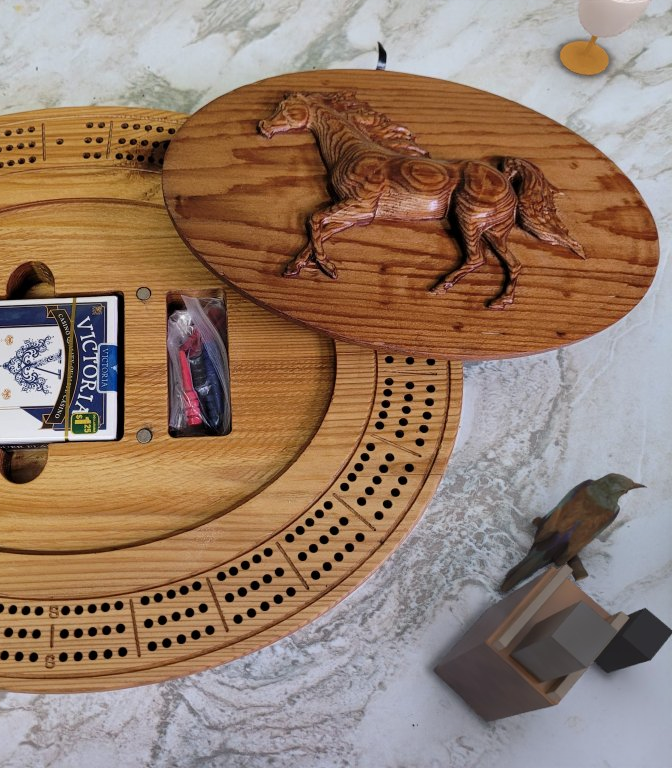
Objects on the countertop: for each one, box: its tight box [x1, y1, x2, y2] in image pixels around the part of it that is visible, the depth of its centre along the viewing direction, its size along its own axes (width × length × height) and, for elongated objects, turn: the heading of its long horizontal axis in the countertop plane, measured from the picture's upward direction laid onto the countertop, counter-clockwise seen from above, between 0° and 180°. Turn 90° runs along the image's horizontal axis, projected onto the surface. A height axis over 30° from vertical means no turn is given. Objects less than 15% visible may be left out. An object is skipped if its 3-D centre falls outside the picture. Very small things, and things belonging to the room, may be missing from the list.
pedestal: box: [432, 568, 554, 723], centre depth 101 cm, size 9×12×23 cm
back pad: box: [593, 607, 672, 674], centre depth 106 cm, size 4×5×12 cm
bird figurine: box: [498, 472, 648, 594], centre depth 112 cm, size 13×10×20 cm
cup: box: [559, 0, 653, 76], centre depth 152 cm, size 12×12×17 cm
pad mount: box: [485, 563, 629, 707], centre depth 85 cm, size 9×12×13 cm
